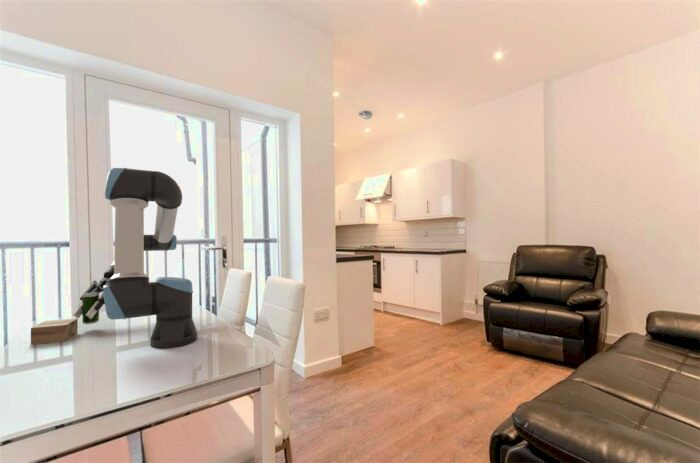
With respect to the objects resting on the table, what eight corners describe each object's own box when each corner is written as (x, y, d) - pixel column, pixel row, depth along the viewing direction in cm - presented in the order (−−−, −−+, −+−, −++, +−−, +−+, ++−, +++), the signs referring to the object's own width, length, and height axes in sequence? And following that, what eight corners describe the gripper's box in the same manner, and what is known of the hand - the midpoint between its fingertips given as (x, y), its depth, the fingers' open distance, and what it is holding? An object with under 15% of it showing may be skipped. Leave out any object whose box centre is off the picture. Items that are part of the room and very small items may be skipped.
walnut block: (66, 341, 118) (66, 324, 118) (30, 344, 114) (30, 327, 114) (77, 333, 127) (77, 318, 127) (45, 336, 123) (45, 321, 123)
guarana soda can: (82, 325, 128) (83, 294, 129) (81, 322, 132) (81, 293, 132) (99, 322, 132) (100, 293, 132) (98, 320, 136) (98, 291, 136)
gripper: (140, 276, 146) (108, 322, 130) (104, 276, 149) (68, 321, 132) (131, 265, 141) (96, 311, 125) (94, 265, 144) (55, 310, 127)
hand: (82, 316), depth 128 cm, fingers closed on guarana soda can, 5 cm apart
